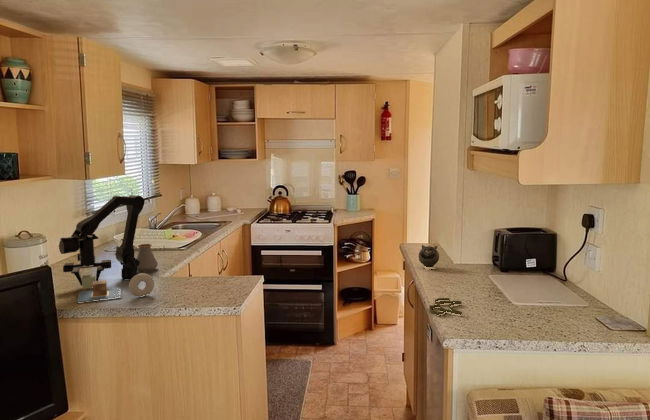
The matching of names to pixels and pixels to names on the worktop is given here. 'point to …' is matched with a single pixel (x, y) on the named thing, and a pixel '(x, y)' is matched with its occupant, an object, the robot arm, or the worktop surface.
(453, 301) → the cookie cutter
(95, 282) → the walnut cube
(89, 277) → the sage cube
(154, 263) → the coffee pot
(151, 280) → the donut
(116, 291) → the board
